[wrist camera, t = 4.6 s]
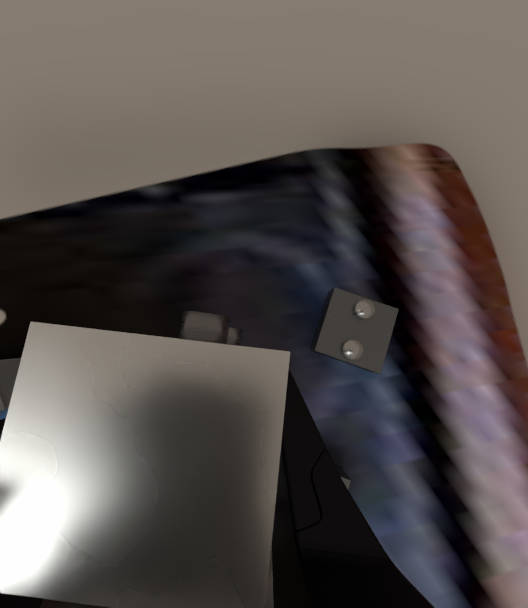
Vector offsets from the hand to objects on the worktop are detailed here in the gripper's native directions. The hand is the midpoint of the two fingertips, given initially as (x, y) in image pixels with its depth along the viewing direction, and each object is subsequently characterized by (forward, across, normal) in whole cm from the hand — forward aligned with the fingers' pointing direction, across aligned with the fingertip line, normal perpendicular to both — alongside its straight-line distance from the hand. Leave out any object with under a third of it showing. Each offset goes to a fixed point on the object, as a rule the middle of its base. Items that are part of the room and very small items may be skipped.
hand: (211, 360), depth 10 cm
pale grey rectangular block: (+4, 0, +6) cm, 7 cm away
